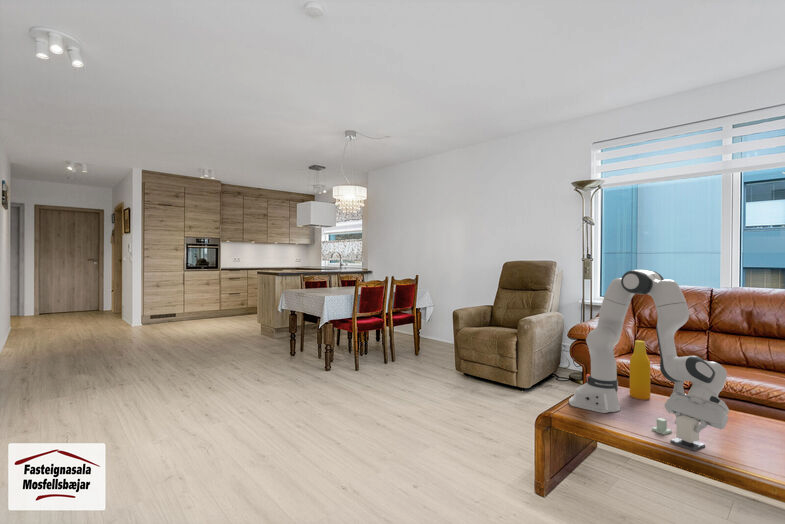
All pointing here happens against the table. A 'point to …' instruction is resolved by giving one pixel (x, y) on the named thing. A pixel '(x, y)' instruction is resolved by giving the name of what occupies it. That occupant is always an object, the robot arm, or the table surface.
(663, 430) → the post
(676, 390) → the salt shaker
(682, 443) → the post
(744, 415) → the table surface
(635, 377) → the beer bottle
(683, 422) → the white rectangular block
